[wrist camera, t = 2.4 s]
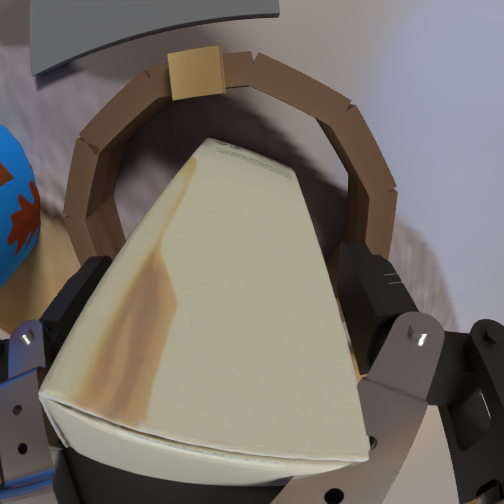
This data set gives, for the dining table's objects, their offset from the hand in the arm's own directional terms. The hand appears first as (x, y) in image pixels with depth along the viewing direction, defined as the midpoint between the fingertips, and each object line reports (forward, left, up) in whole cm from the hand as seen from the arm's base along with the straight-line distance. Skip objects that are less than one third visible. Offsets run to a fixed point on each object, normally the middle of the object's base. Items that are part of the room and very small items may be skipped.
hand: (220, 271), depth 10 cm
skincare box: (0, 0, -5) cm, 5 cm away
